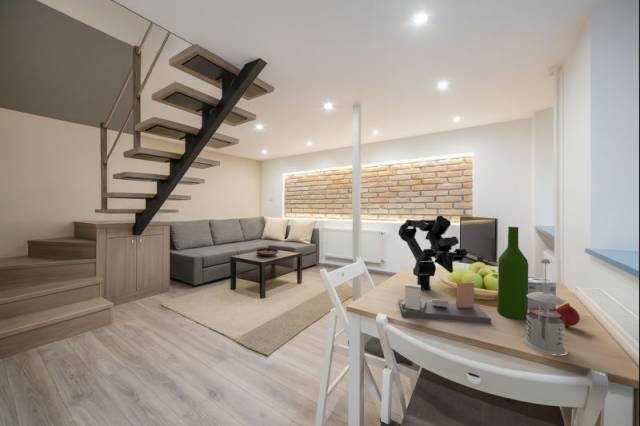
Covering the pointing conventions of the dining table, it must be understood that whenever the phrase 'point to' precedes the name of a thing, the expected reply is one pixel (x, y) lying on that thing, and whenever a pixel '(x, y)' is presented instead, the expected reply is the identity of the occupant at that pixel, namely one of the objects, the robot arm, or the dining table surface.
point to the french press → (544, 323)
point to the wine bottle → (512, 280)
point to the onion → (568, 315)
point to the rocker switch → (440, 302)
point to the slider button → (413, 296)
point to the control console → (445, 312)
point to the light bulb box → (539, 286)
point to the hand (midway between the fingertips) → (451, 272)
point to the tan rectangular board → (465, 295)
